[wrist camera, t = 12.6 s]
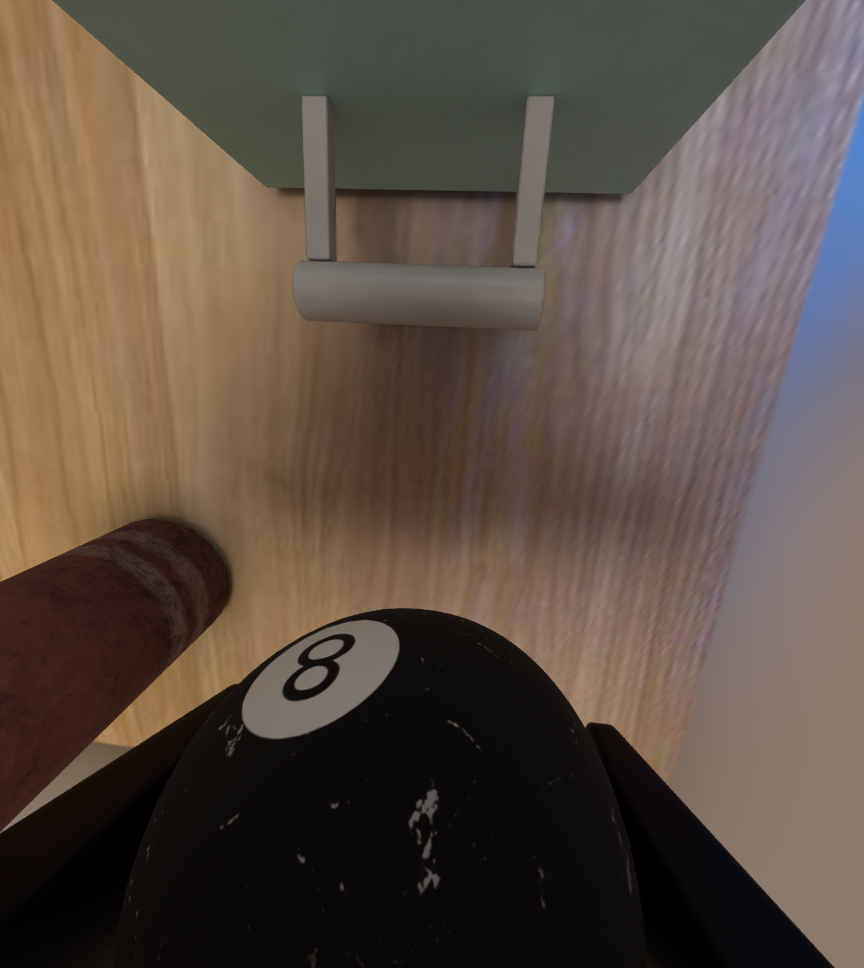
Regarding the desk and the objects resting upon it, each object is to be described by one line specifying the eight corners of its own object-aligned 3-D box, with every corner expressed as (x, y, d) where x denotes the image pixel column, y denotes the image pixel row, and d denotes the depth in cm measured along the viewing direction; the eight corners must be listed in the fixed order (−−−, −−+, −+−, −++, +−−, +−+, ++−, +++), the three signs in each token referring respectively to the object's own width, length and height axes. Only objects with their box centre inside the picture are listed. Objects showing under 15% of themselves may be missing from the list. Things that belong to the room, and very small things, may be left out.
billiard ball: (338, 807, 10) (143, 1449, 4) (238, 585, 8) (-295, 1077, 3) (598, 772, 9) (841, 1566, 3) (532, 514, 7) (758, 1065, 2)
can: (145, 638, 21) (-402, 1091, 8) (95, 526, 20) (-689, 856, 6) (251, 623, 21) (-166, 1105, 7) (207, 505, 19) (-434, 839, 6)
